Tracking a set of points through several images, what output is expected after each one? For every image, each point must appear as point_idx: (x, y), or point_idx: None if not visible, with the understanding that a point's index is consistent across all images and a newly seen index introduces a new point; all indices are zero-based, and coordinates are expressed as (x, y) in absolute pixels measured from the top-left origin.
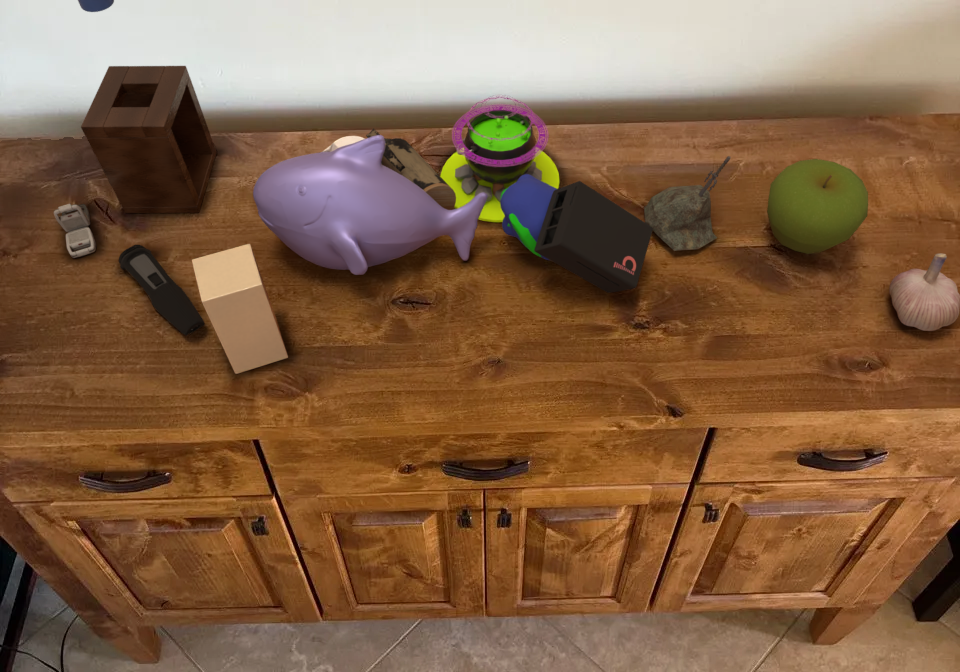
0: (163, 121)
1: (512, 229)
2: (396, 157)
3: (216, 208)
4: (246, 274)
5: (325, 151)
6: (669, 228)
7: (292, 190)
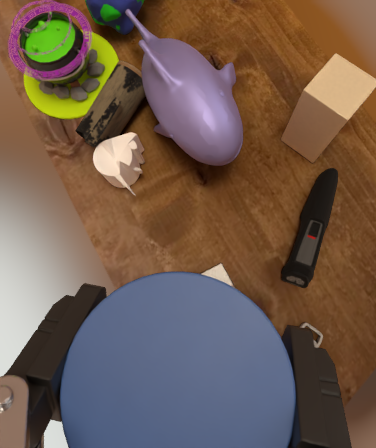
0: (214, 268)
1: (134, 12)
2: (114, 98)
3: (206, 259)
4: (334, 69)
5: (122, 178)
6: None
7: (225, 101)
